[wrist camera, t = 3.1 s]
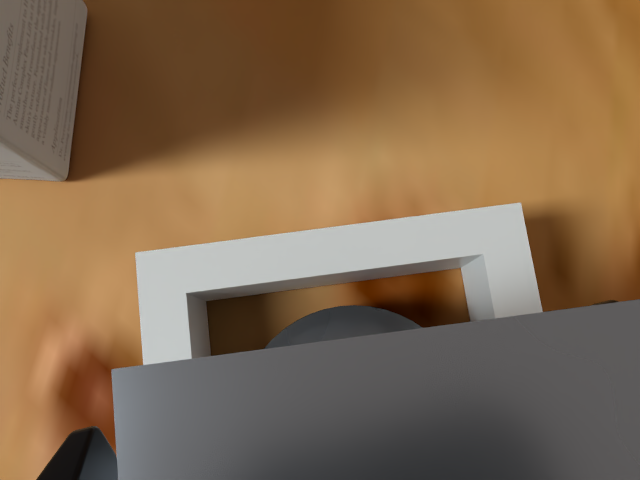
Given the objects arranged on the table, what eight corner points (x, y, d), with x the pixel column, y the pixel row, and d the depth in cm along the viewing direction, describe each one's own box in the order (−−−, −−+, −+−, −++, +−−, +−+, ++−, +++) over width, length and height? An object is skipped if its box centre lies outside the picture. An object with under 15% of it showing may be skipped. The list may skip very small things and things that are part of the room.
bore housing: (562, 583, 16) (606, 627, 13) (191, 635, 15) (166, 690, 13) (493, 223, 17) (520, 202, 15) (162, 266, 17) (135, 252, 15)
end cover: (475, 514, 16) (1072, 1170, 3) (258, 544, 16) (-18, 1344, 3) (438, 298, 17) (772, 144, 4) (235, 324, 17) (-33, 248, 4)
